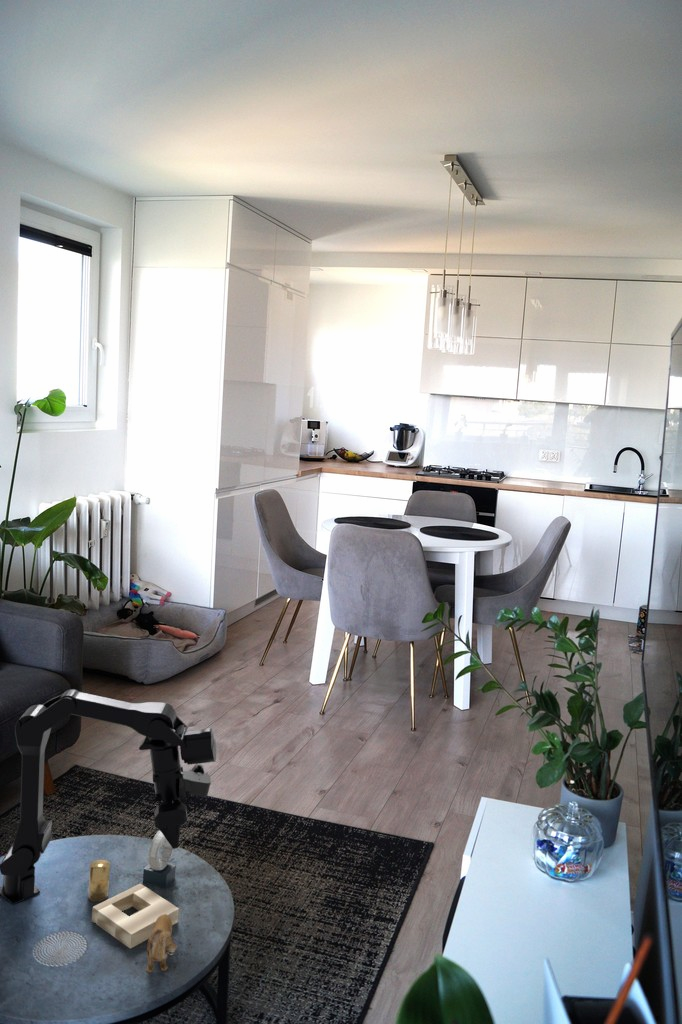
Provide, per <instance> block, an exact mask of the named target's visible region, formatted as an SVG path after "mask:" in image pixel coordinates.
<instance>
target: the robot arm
mask: <svg viewBox="0 0 682 1024" xmlns="http://www.w3.org/2000/svg"><path fill="white" fill-rule="evenodd" d="M70 715H71V716H72V715H73V716H77V717H82V718H87V719H91V720H95V721H101V722H104V723H105V722H106V723H111V724H115V725H121V726H125V727H127V728H130V729H132V730H134V731H135V732H136V733H138V734H139V735H141V736H144V738H143V739H142V740H141V743H140V745H139V747H138V750H140V751H148V750H149V753H150V754H149V756H150V764H151V770H152V771H151V772H152V783H153V784H154V797H155V798H154V799H155V802H156V803H157V802H159V805H157V807H156V808H155V809H154V825H155V828H157V829H158V831H161V832H162V834H163V835H164V836H165V838H166V839H167V841H168V842H169V844H170V845H171V847H172V848H173V849H174V850H176V849H178V848H179V843H180V832H181V831H180V830H181V827H182V826H183V825H185V824H186V823H188V814H187V813H188V811H187V804H185V803H184V802H182V801H180V800H181V799H184V798H186V795H187V794H188V795H192V796H197V797H200V798H207V797H208V795H209V791H210V788H211V787H210V786H211V784H212V783H211V782H212V780H211V775H210V774H209V772H208V771H207V772H205V770H204V765H203V764H207V763H215V762H216V761H217V743H216V739H215V735H214V733H213V728H212V727H206V728H203V729H197V730H196V729H195V730H188V728H189V726H188V725H187V724H185V723H184V721H183V720H181V719H180V718H179V716H178V715H177V712H176V710H175V709H174V707H173V706H172V705H171V704H170V703H167V702H159V701H157V702H156V701H155V702H154V701H147V702H139V703H133V702H128V701H123V700H118V699H114V698H109V697H105V696H100V695H95V694H90V693H86V692H82V691H79V690H78V689H74V688H73V689H67V690H65V691H64V693H62V694H60V695H57V696H56V697H52V698H51V699H49V700H48V701H46V702H45V703H42V704H34V705H31V706H30V707H28V708H27V709H26V710H25V712H24V713H23V714H22V715H21V717H19V719H18V720H17V721H16V723H15V725H14V735H15V740H16V746H17V748H18V750H19V752H20V753H21V754H20V755H21V775H20V776H21V777H20V779H21V780H20V808H19V810H20V812H19V814H20V817H19V823H18V826H17V830H16V832H15V836H14V838H13V842H12V844H11V846H10V847H9V848H8V851H7V852H6V854H5V855H4V857H3V859H2V860H1V862H0V874H1V875H3V879H2V885H1V886H0V896H1V897H3V898H4V900H6V901H7V900H8V902H9V903H10V904H11V903H12V905H14V904H13V903H15V904H17V903H19V901H20V902H22V901H23V899H24V900H26V899H28V898H31V897H32V896H35V895H36V894H39V893H41V888H39V887H38V886H36V885H35V883H36V876H35V875H36V872H35V871H36V867H35V864H36V863H38V862H39V860H40V858H41V857H42V854H44V853H45V851H46V849H47V847H48V845H49V844H50V843H51V842H50V841H52V838H53V834H52V826H53V820H52V819H49V820H46V818H45V816H44V812H43V811H44V784H45V783H44V782H45V781H44V780H45V752H46V751H45V750H46V747H47V744H48V741H49V738H50V734H51V732H52V731H51V729H52V728H53V727H54V726H55V725H57V724H58V723H59V722H61V721H62V720H63V719H65V718H67V717H68V716H70ZM179 748H180V750H179ZM181 760H182V761H183V763H184V764H187V765H194V766H193V767H192V768H191V769H189V770H188V771H187V770H184V767H183V765H182V764H181ZM21 900H22V901H21ZM16 902H17V903H16Z"/></svg>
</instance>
